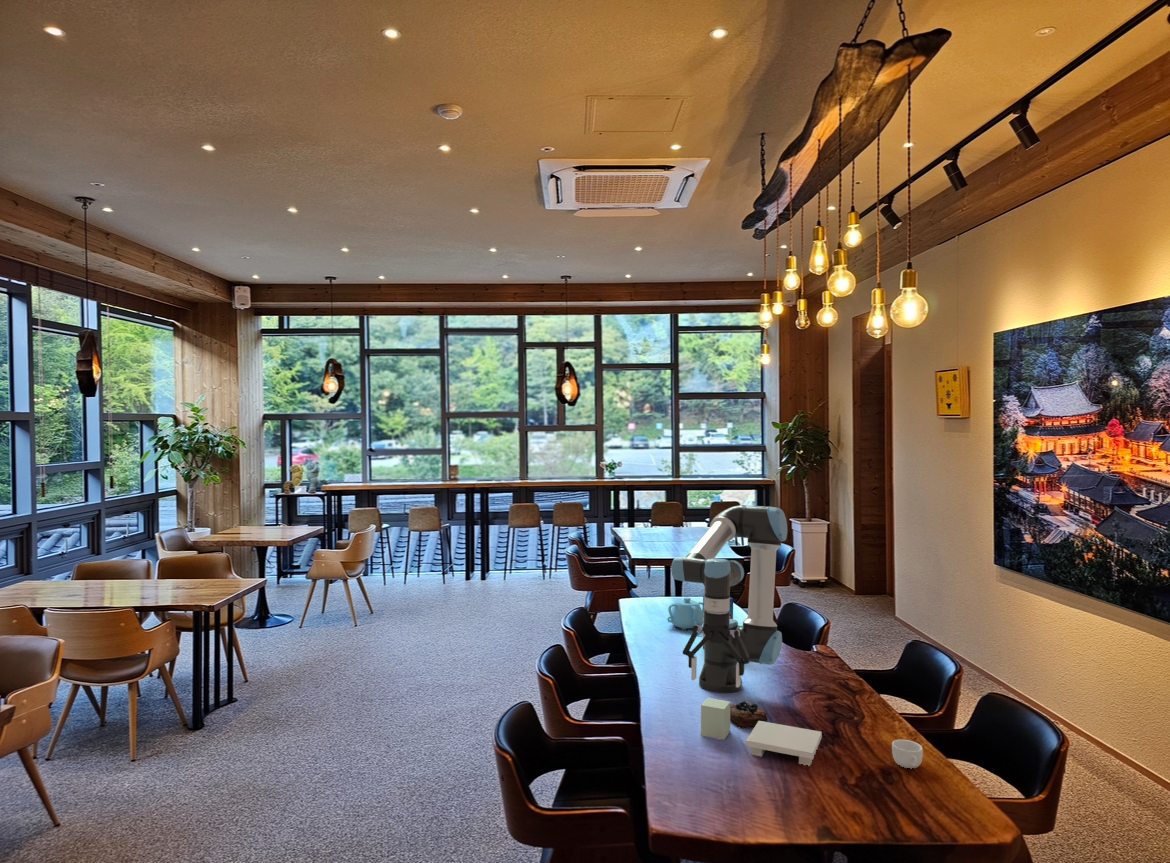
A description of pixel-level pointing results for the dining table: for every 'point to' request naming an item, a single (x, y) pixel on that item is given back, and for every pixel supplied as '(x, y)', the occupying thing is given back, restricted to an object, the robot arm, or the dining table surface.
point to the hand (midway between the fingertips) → (715, 682)
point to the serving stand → (784, 741)
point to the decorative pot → (686, 613)
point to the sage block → (715, 718)
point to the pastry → (746, 715)
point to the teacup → (907, 753)
